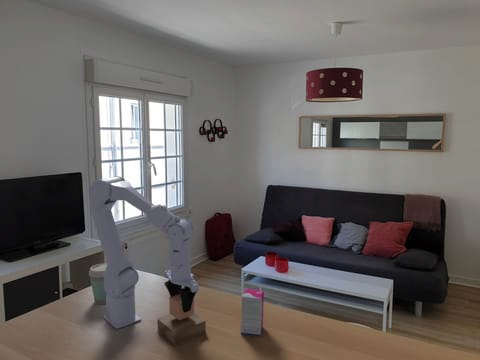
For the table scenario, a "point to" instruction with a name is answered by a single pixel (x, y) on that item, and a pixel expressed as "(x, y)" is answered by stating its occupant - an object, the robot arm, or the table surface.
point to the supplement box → (252, 312)
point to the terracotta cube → (179, 308)
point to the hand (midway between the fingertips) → (181, 307)
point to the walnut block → (181, 328)
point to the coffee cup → (98, 283)
